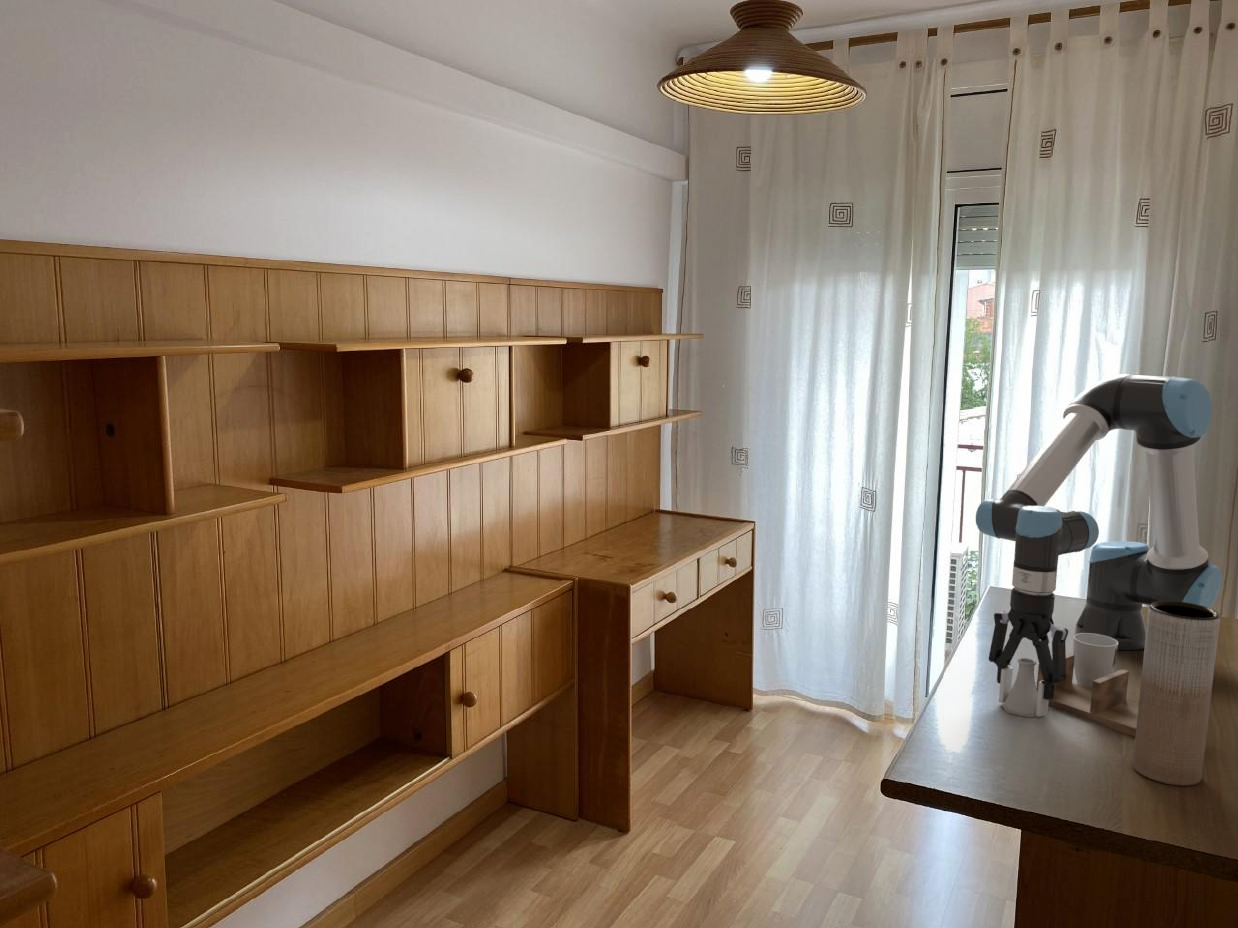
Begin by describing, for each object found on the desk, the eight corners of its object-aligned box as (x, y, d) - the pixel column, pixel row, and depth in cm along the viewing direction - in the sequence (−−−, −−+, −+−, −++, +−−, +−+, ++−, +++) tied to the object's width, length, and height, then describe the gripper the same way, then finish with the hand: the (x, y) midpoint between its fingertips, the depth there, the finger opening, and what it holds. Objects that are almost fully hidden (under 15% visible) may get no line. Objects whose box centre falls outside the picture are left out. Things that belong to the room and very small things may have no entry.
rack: (1067, 688, 197) (1070, 652, 196) (1185, 727, 179) (1189, 688, 178) (1033, 701, 190) (1037, 664, 189) (1153, 743, 172) (1158, 702, 171)
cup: (1118, 696, 193) (1123, 647, 192) (1074, 692, 195) (1079, 644, 193) (1107, 681, 201) (1111, 634, 199) (1064, 677, 203) (1069, 631, 201)
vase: (1200, 792, 154) (1220, 622, 150) (1129, 776, 159) (1146, 611, 155) (1202, 768, 162) (1220, 607, 158) (1135, 753, 167) (1151, 596, 163)
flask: (1042, 706, 187) (1046, 656, 186) (1044, 721, 181) (1049, 669, 179) (1001, 701, 190) (1005, 651, 188) (1002, 715, 183) (1007, 664, 181)
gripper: (974, 580, 187) (965, 694, 191) (1073, 606, 171) (1062, 730, 175) (996, 575, 192) (987, 686, 195) (1096, 599, 176) (1084, 720, 179)
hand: (1022, 707), depth 185 cm, fingers open, 7 cm apart
